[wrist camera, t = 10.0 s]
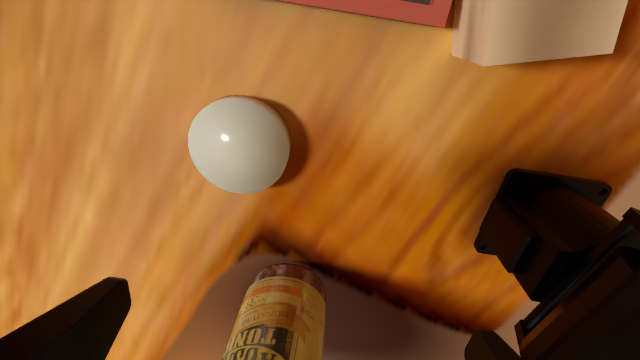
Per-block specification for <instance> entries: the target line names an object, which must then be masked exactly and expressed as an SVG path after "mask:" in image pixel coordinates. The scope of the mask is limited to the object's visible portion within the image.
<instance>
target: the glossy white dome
mask: <svg viewBox="0 0 640 360" xmlns="http://www.w3.org/2000/svg"><path fill="white" fill-rule="evenodd" d="M188 147H189V152H190V155H191V158H192V160H193V162H194V164H195V166H196V168H197V169H198V170H199V172H200V173H201V174H202V175H203V176H204V177H205V178H206V179H207V180H208V181H209V182H211V183H212V184H214V185H215V186H217V187H219V188H221V189H223V190H226V191H229V192H233V193H239V194H249V193H256V192H259V191H262V190H264V189H267V188H268V187H270V186H271V185H273V184H274V183H275V182H276V181H277V180H278V179H279V178H280V177H281V175H282V173H283V172H284V170H285V167H286V165H287V162H288V158H289V155H290V148H291V141H290V135H289V132H288V129H287V127H286V125H285V123H284V121H283V119H282V118H281V117H280V115H279V114H278V113H277V112H276V111H275V110H274V109H273V108H272V107H270V106H269V105H268V104H266V103H265V102H263V101H261V100H259V99H256V98H254V97H250V96H245V95H229V96H225V97H222V98H220V99H217V100H216V101H214V102H212V103H211V104H209V105H208V106H206V107H205V108H204V109H202V110H201V111H200V112H199V113H198V114H197V116H196V117H195V118H194V120H193V122H192V124H191V126H190V130H189V135H188Z"/></svg>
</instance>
